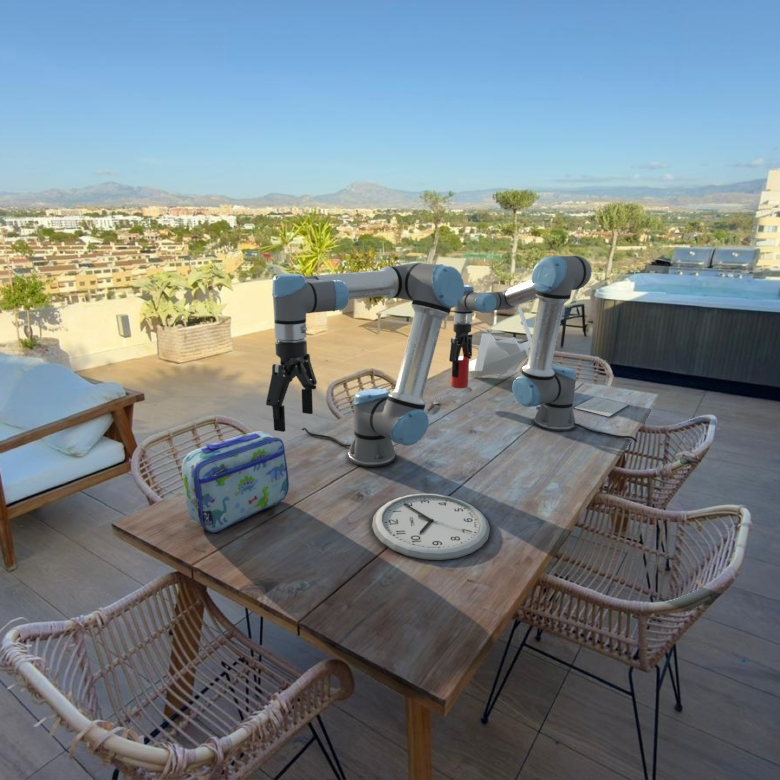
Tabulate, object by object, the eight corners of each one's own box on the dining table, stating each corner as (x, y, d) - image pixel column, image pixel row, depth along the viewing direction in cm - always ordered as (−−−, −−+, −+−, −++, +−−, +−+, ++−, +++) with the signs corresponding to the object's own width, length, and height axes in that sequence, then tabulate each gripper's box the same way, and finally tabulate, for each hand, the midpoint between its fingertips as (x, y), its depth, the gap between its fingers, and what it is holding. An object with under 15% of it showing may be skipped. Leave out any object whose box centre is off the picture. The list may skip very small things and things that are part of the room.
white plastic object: (487, 418, 267) (468, 395, 242) (469, 346, 289) (449, 318, 264) (558, 394, 255) (545, 368, 230) (533, 321, 277) (518, 289, 252)
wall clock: (505, 551, 121) (375, 556, 118) (504, 557, 121) (375, 562, 119) (474, 489, 149) (369, 491, 147) (474, 494, 150) (369, 497, 147)
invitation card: (608, 416, 214) (573, 407, 224) (608, 416, 214) (573, 408, 224) (628, 404, 229) (594, 396, 238) (628, 405, 229) (594, 397, 238)
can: (448, 386, 228) (449, 358, 224) (455, 382, 234) (456, 355, 230) (463, 389, 224) (465, 360, 221) (470, 385, 230) (471, 357, 227)
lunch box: (202, 541, 125) (194, 461, 119) (183, 523, 133) (174, 447, 126) (293, 503, 143) (290, 432, 137) (271, 490, 150) (268, 421, 144)
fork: (425, 411, 216) (425, 407, 215) (435, 400, 230) (435, 396, 230) (431, 412, 215) (431, 408, 214) (441, 401, 229) (441, 396, 229)
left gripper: (275, 351, 114) (280, 441, 121) (328, 331, 137) (329, 408, 143) (247, 348, 117) (252, 436, 123) (303, 329, 139) (305, 404, 145)
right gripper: (467, 318, 231) (464, 369, 237) (441, 324, 216) (439, 378, 222) (482, 320, 226) (479, 372, 233) (457, 326, 211) (454, 381, 218)
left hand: (294, 421), depth 133 cm, fingers open, 13 cm apart
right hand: (460, 374), depth 228 cm, fingers closed on can, 7 cm apart
